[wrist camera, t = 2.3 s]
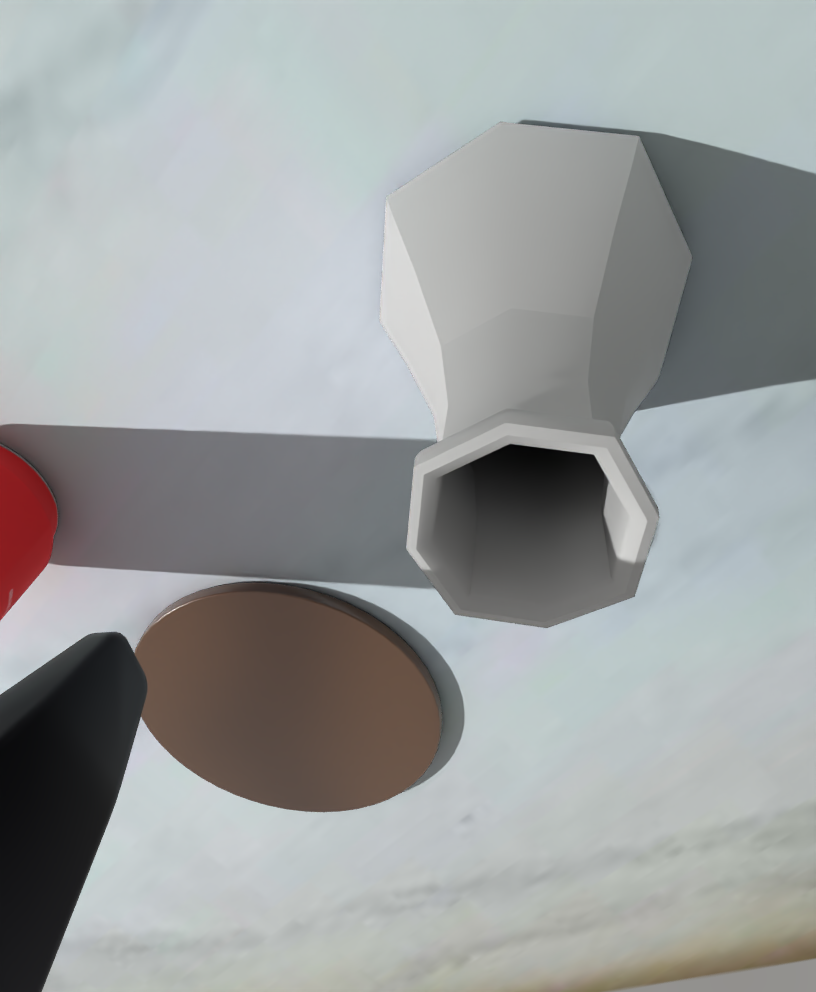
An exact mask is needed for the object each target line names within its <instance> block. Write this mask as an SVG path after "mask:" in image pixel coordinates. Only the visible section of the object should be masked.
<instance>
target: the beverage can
mask: <svg viewBox="0 0 816 992" xmlns="http://www.w3.org/2000/svg"><path fill="white" fill-rule="evenodd" d="M58 522H59V513H58V507H57V503H56V500H55V497H54V495H53V493H52V491H51V489H50V487H49V486H48V484H47V483H46V481H45V480H44V478H43V477H42V476H41V474H40V473H39V472H38V471H37V470H36V469H35V468H34V467H33V466H32V465H31V464H30V463H29V462H28V461H27V460H25V459H24V458H23V457H21V456H20V455H19V454H17V453H16V452H14V451H13V450H11V449H9V448H7V447H6V446H4V445H2V444H0V620H1V619H2V618H3V617H4V616H5V614H6V613H7V612H8V611H9V610H10V609H11V607H12V606H13V605H14V604H15V603H16V601H17V600H18V599H19V598H20V597H21V596H22V594H23V593H24V592H25V591H26V590H27V589H28V587H29V586H30V585H31V584H32V583H33V581H34V580H35V579H36V578H37V577H38V576H39V574H40V573H41V572H42V571H43V570H44V568H45V567H46V565H47V564H48V562H49V559H50V557H51V553H52V547H53V537H54V535H55V533H56V531H57V527H58Z"/></svg>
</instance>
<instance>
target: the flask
mask: <svg viewBox="0 0 816 992" xmlns="http://www.w3.org/2000/svg"><path fill="white" fill-rule="evenodd" d="M692 259H693V257H692V255H691V252H690V250H689V248H688V245H687V243H686V241H685V239H684V236H683V234H682V232H681V230H680V227H679V225H678V223H677V221H676V218H675V216H674V214H673V212H672V209H671V207H670V205H669V202H668V200H667V198H666V196H665V193H664V191H663V189H662V187H661V184H660V182H659V180H658V178H657V175H656V173H655V171H654V169H653V166H652V164H651V162H650V159H649V157H648V155H647V153H646V150H645V148H644V146H643V144H642V141H641V139H640V137H639V136H634V135H624V134H614V133H604V132H595V131H585V130H575V129H565V128H555V127H545V126H535V125H525V124H516V123H506V122H499V123H498V124H496V125H495V126H493V127H491V128H490V129H488V130H487V131H485V132H484V133H482V134H481V135H479V136H478V137H476V138H475V139H473V140H472V141H470V142H469V143H467V144H466V145H464V146H463V147H461V148H460V149H458V150H456V151H455V152H453V153H452V154H450V155H449V156H447V157H446V158H444V159H443V160H441V161H440V162H438V163H437V164H435V165H434V166H432V167H431V168H429V169H428V170H426V171H425V172H423V173H421V174H420V175H418V176H417V177H415V178H414V179H412V180H411V181H409V182H408V183H406V184H405V185H403V186H402V187H400V188H399V189H397V190H396V191H394V192H393V193H391V194H389V195H388V196H386V211H385V228H384V246H383V264H382V282H381V299H380V317H379V320H380V322H381V324H382V326H383V328H384V330H385V332H386V333H387V335H388V336H389V338H390V340H391V341H392V343H393V344H394V346H395V347H396V349H397V350H398V352H399V354H400V355H401V357H402V358H403V360H404V361H405V363H406V364H407V366H408V368H409V370H410V372H411V374H412V376H413V378H414V380H415V382H416V384H417V385H418V387H419V389H420V391H421V393H422V395H423V397H424V399H425V401H426V403H427V405H428V407H429V409H430V411H431V413H432V414H433V416H434V422H435V429H436V436H437V443H435V444H433V445H431V446H429V447H427V448H425V449H423V450H421V451H420V452H419V453H418V455H417V456H416V457H415V461H414V469H413V480H412V491H411V502H410V512H409V523H408V534H407V545H406V549H407V551H408V552H409V553H410V555H411V556H412V558H413V559H414V560H415V562H416V563H417V564H418V566H419V567H420V568H421V570H422V571H423V572H424V574H425V575H426V576H427V578H428V579H429V580H430V582H431V583H432V584H433V586H434V587H435V588H436V590H437V591H438V592H439V594H440V595H441V596H442V598H443V599H444V600H445V602H446V603H447V604H448V606H449V607H450V609H451V610H452V611H453V613H454V614H455V615H461V616H468V617H475V618H481V619H488V620H495V621H502V622H509V623H515V624H522V625H529V626H536V627H543V628H548V627H551V626H554V625H557V624H560V623H562V622H565V621H568V620H571V619H574V618H576V617H579V616H582V615H585V614H588V613H590V612H593V611H596V610H599V609H602V608H604V607H607V606H610V605H613V604H616V603H618V602H621V601H624V600H627V599H629V598H632V597H635V593H636V590H637V587H638V584H639V581H640V578H641V574H642V571H643V568H644V565H645V562H646V558H647V555H648V552H649V549H650V546H651V543H652V539H653V536H654V533H655V530H656V527H657V523H658V520H659V512H658V507H657V505H656V503H655V501H654V500H653V498H652V496H651V494H650V492H649V490H648V489H647V487H646V485H645V483H644V481H643V479H642V478H641V476H640V474H639V472H638V470H637V468H636V467H635V465H634V463H633V461H632V459H631V457H630V456H629V454H628V452H627V450H626V448H625V446H624V445H623V443H622V441H621V439H620V436H621V434H622V433H623V431H624V429H625V428H626V426H627V424H628V422H629V421H630V419H631V417H632V415H633V414H634V412H635V411H636V409H637V408H638V407H639V405H640V404H641V403H642V401H643V400H644V399H645V397H646V396H647V395H648V393H649V392H650V391H651V389H652V388H653V387H654V385H655V383H656V382H657V380H658V378H659V377H660V373H661V369H662V366H663V362H664V359H665V355H666V352H667V348H668V344H669V341H670V337H671V334H672V330H673V326H674V323H675V319H676V316H677V312H678V309H679V305H680V301H681V298H682V294H683V291H684V287H685V284H686V280H687V276H688V273H689V269H690V266H691V262H692Z"/></svg>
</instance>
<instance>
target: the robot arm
mask: <svg viewBox="0 0 816 992" xmlns="http://www.w3.org/2000/svg"><path fill="white" fill-rule="evenodd" d="M147 689H148V685H147V678H146V675H145V673H144V671H143V669H142V667H141V665H140V663H139V661H138V660H137V658H136V656H135V654H134V652H133V650H132V648H131V646H130V644H129V643H128V641H127V639H126V638H125V637H124V636H123V635H122V634H121V633H118V632H104V633H93V634H89V635H87V636H85V637H84V638H82V639H81V640H79V641H78V642H76V643H75V644H74V645H72V646H71V647H69V648H68V649H66V650H65V651H63V652H62V653H60V654H59V655H58V656H56V657H55V658H53V659H52V660H50V661H49V662H47V663H46V664H44V665H43V666H42V667H40V668H39V669H37V670H36V671H34V672H33V673H31V674H30V675H28V676H27V677H26V678H24V679H23V680H21V681H20V682H18V683H17V684H15V685H14V686H12V687H11V688H10V689H8V690H7V691H5V692H4V693H2V694H1V695H0V992H42V989H43V987H44V984H45V982H46V979H47V977H48V974H49V972H50V969H51V966H52V964H53V961H54V959H55V956H56V954H57V951H58V949H59V946H60V944H61V941H62V939H63V936H64V933H65V931H66V928H67V926H68V923H69V921H70V918H71V916H72V913H73V911H74V908H75V906H76V903H77V901H78V898H79V895H80V893H81V890H82V888H83V885H84V883H85V880H86V878H87V875H88V873H89V870H90V868H91V865H92V863H93V860H94V857H95V855H96V852H97V850H98V847H99V845H100V842H101V840H102V837H103V835H104V832H105V830H106V827H107V824H108V822H109V819H110V817H111V814H112V811H113V808H114V806H115V803H116V800H117V797H118V793H119V790H120V787H121V784H122V781H123V777H124V774H125V770H126V767H127V763H128V760H129V756H130V752H131V749H132V745H133V742H134V738H135V735H136V731H137V728H138V724H139V721H140V717H141V714H142V710H143V707H144V703H145V700H146V696H147Z"/></svg>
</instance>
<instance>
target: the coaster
mask: <svg viewBox="0 0 816 992" xmlns="http://www.w3.org/2000/svg"><path fill="white" fill-rule="evenodd" d="M134 654H135V656H136V658H137V660H138V661H139V663H140V665H141V667H142V669H143V671H144V673H145V675H146V678H147V685H148V689H147V696H146V700H145V703H144V707H143V710H142V714H141V717H142V719H143V721H144V722H145V724H146V725H147V727H148V729H149V730H150V732H151V733H152V734H153V736H154V737H155V738H156V739H157V740H158V742H159V743H160V744H161V745H162V746H163V747H164V748H165V749H166V750H167V751H168V752H169V753H170V754H171V755H172V756H173V757H174V758H175V759H176V760H178V761H179V762H180V763H181V764H183V765H184V766H185V767H186V768H188V769H189V770H191V771H192V772H194V773H195V774H197V775H198V776H200V777H201V778H203V779H205V780H206V781H208V782H210V783H212V784H214V785H215V786H217V787H219V788H221V789H224V790H226V791H228V792H230V793H232V794H235V795H237V796H240V797H243V798H246V799H248V800H251V801H254V802H258V803H262V804H265V805H269V806H273V807H278V808H283V809H289V810H297V811H306V812H336V811H346V810H353V809H359V808H363V807H367V806H371V805H375V804H377V803H380V802H383V801H385V800H388V799H390V798H392V797H394V796H396V795H398V794H400V793H402V792H403V791H404V790H406V789H407V788H409V787H410V786H411V785H413V784H414V783H415V782H416V781H417V780H418V779H419V778H420V777H421V776H422V775H423V774H424V773H425V771H426V770H427V768H428V767H429V766H430V764H431V763H432V761H433V759H434V757H435V754H436V752H437V750H438V746H439V742H440V737H441V730H442V709H441V703H440V698H439V695H438V692H437V689H436V686H435V683H434V681H433V679H432V677H431V675H430V674H429V672H428V670H427V668H426V667H425V665H424V664H423V662H422V661H421V660H420V658H419V657H418V656H417V654H416V653H415V652H414V651H413V650H412V649H411V648H410V647H409V646H408V644H407V643H406V642H405V641H404V640H403V639H402V638H401V637H399V636H398V635H397V634H396V633H395V632H393V631H392V630H391V629H390V628H388V627H387V626H386V625H385V624H383V623H381V622H380V621H378V620H377V619H375V618H374V617H372V616H371V615H369V614H368V613H366V612H364V611H362V610H360V609H358V608H356V607H354V606H352V605H350V604H349V603H346V602H344V601H341V600H339V599H336V598H334V597H331V596H329V595H326V594H322V593H319V592H315V591H312V590H308V589H305V588H300V587H294V586H289V585H284V584H273V583H261V582H259V583H235V584H227V585H220V586H216V587H212V588H208V589H204V590H200V591H198V592H195V593H193V594H191V595H188V596H186V597H183V598H182V599H180V600H178V601H177V602H175V603H173V604H172V605H170V606H168V607H167V608H166V609H165V610H164V611H163V612H161V613H160V614H159V615H158V616H157V617H156V618H155V619H154V620H153V622H152V623H151V624H150V625H149V626H148V628H147V629H146V631H145V632H144V634H143V636H142V638H141V639H140V641H139V643H138V645H137V647H136V649H135V653H134Z"/></svg>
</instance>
